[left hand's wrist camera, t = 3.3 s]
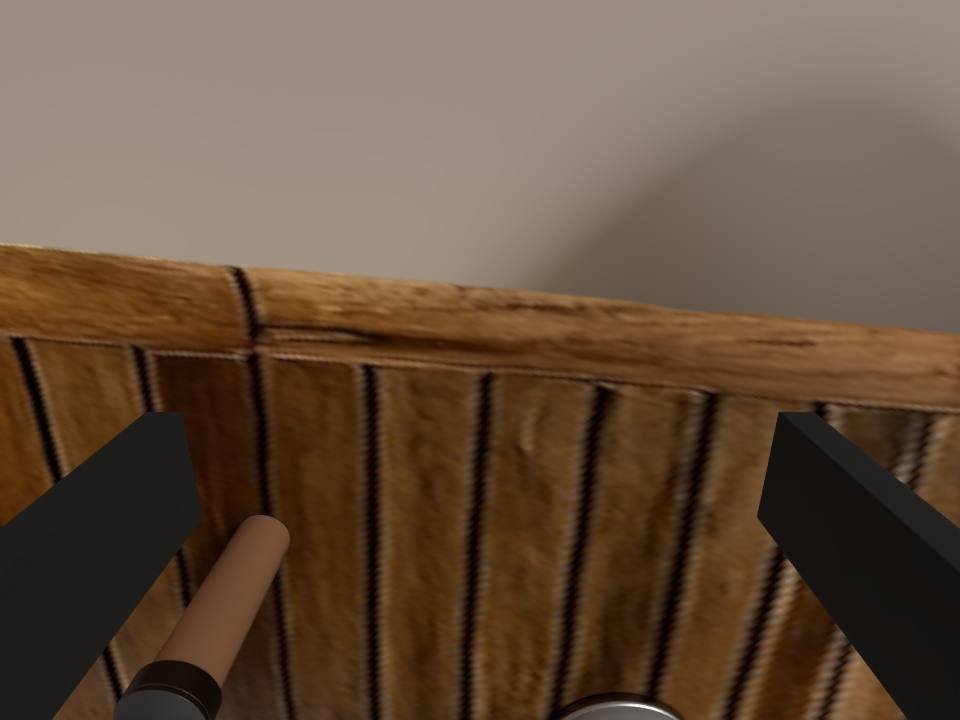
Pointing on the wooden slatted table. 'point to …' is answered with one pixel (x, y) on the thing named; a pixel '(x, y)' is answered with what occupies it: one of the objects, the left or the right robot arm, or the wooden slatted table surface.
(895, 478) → the left robot arm
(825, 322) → the wooden slatted table surface
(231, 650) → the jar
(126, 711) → the lid
